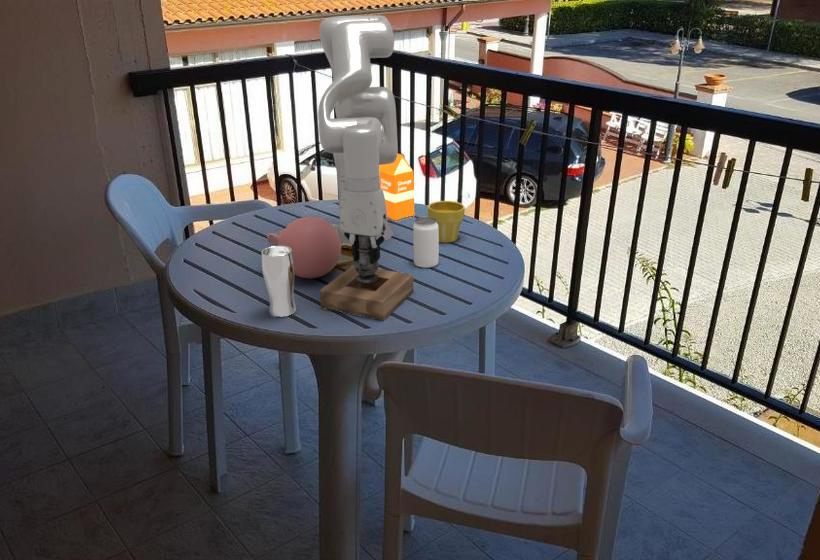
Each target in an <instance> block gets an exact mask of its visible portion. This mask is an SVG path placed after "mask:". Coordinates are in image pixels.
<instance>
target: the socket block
mask: <svg viewBox="0 0 820 560" xmlns="http://www.w3.org/2000/svg"><path fill="white" fill-rule="evenodd" d="M375 274H377V275H378V277H379V278H378V280H376V281H374V282H370V283H362V282H358V281H357V280H356V276H357V275H359V274H358V273H357V271H356V269H355V267H354V264H353V265H351V266H350V267H349V268H348V269H346V270H345V271H344V272H342V273H341V274H339V275H338V276H337V277H335V279H333V280H332V281H330V282H329V283H328V284H326V285H325V286H324V287H322V288H321V289H320V290H319V297H320V308H321V307H322V308H327V309H332V310H337V311H342V312H345V313H344V314H347V313H350V314H349V315H352V314H355V315H354V316H357V315H361V316H360V317H362V316H365V317H364V318H367V317H368V319H372V318H374V319H373V320H377V319H378V321H382V320H383V322H384V321H385V320H386V319H388V317H389V316H391V314H392V313H393V312H394V311H395V310H396V309H398V307H400V306H401V305H402V304H403V303H404V302H405V301H406V300H407V299H408V298H409V297H410V296H411V295H412V294H413V293H414V274H410V273H404V272H400V271H399V272H398V271H394V270H393V271H392V270H387V269H381V268H378V269H377V271H376V272H375ZM322 308H321V309H322ZM327 309H326V310H327ZM332 310H331V311H332ZM337 311H336V312H337ZM342 312H341V313H342Z"/></svg>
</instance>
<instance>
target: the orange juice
mask: <svg viewBox="0 0 820 560" xmlns="http://www.w3.org/2000/svg"><path fill="white" fill-rule="evenodd" d="M379 172H380V188H382V189H383V193H384V197H385V201H386V208H387V217H389V218H391V219H393V220H398V219H401V218H404V217H408V216H413V215H414V216H415V185H414V184H415V183H414V182H415V179H414V170H413V169H412V167H411V166H410V164H409V163H408V160H407V159H406V158H405V156H404V155H403V154H401V153H398V154H397V159H396V161H395V162H394V163H392V164H388V165H379ZM414 216H413V217H414ZM393 220H392V221H393Z"/></svg>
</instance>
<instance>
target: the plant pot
mask: <svg viewBox="0 0 820 560" xmlns="http://www.w3.org/2000/svg"><path fill="white" fill-rule="evenodd" d="M465 211H466V209H465V205H464V204H463V203H461V202H457V201H453V200H438V201H434V202H430V203H429V204H428V205H427V217H432V218H435V219H436V220H437V224H438V231H439V243H454V242H456V241H457V240H458V236H459V232H460V228H461V225H462V221H463V220H464V219H465Z"/></svg>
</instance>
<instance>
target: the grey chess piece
mask: <svg viewBox="0 0 820 560" xmlns="http://www.w3.org/2000/svg"><path fill="white" fill-rule="evenodd" d="M371 247H372V245H371V239H370V236H363V235H359V247H358V250H359V260H358V261H354V263H353V265H354V267H355V269H356V271H357V273H358V274H359V275H357V276H356V280H357V281H358V282H362V283H370V282H374V281H376V280H378V278H379V277H378V275H377V274H375V272H376V271H377V269H379V266H380V262H379V260H378V261H377V262H376V263H375V264H371V263H370V248H371Z"/></svg>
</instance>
